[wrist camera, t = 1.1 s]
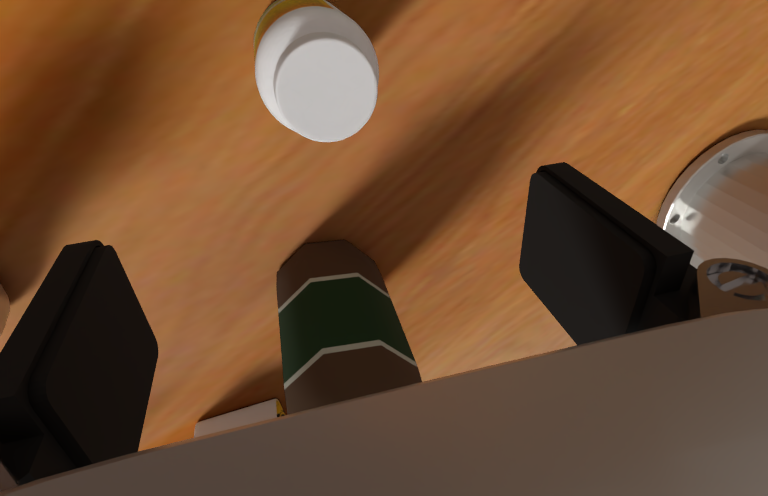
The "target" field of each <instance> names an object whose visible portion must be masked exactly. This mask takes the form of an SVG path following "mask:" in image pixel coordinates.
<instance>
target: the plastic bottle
mask: <svg viewBox="0 0 768 496" xmlns="http://www.w3.org/2000/svg"><path fill="white" fill-rule="evenodd" d="M9 312H10V302H9V298H8V295H7V294H6V292H5V290H4V289H3V287H2V285H1V283H0V336H1V335H2V333H3V330H4V328H5V325H6V321H7V318H8V315H9Z"/></svg>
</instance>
